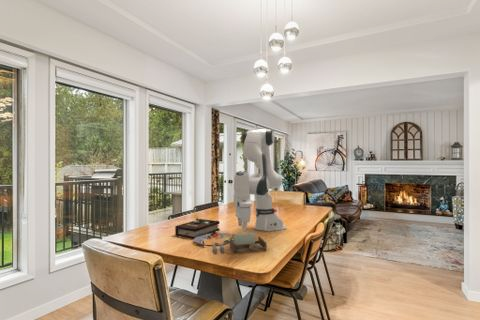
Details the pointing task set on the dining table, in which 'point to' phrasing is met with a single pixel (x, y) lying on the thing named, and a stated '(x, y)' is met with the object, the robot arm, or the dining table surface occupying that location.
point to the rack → (246, 248)
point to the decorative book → (196, 228)
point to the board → (244, 238)
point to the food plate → (214, 237)
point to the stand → (216, 248)
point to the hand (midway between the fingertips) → (242, 227)
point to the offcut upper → (255, 245)
